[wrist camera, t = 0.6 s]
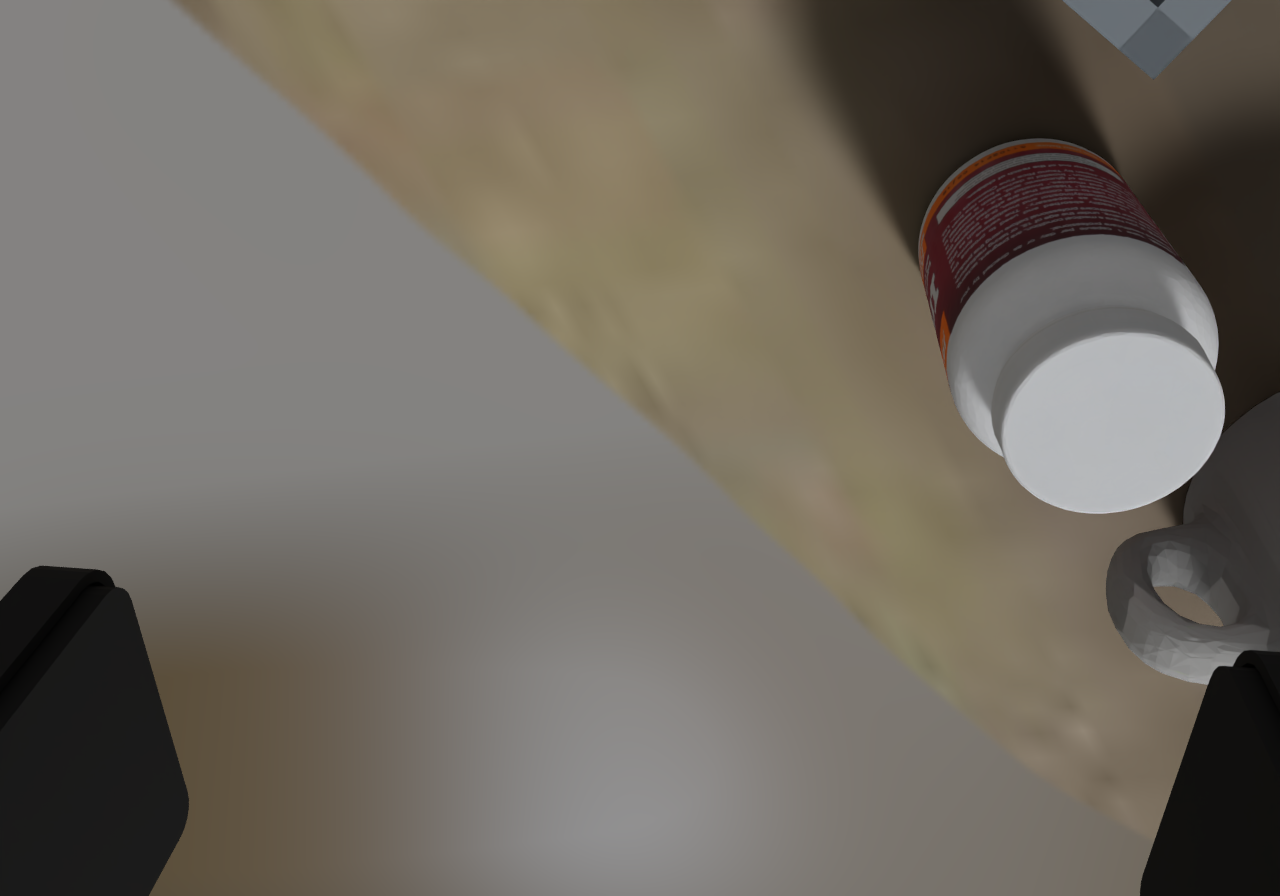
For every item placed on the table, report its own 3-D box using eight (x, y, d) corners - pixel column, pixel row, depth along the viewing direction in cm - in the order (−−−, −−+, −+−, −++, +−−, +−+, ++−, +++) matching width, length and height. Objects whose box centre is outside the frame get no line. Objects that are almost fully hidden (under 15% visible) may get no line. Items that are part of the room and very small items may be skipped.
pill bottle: (871, 231, 35) (904, 417, 26) (1046, 85, 32) (1152, 233, 23) (1001, 367, 37) (1074, 585, 28) (1176, 240, 34) (1322, 434, 25)
